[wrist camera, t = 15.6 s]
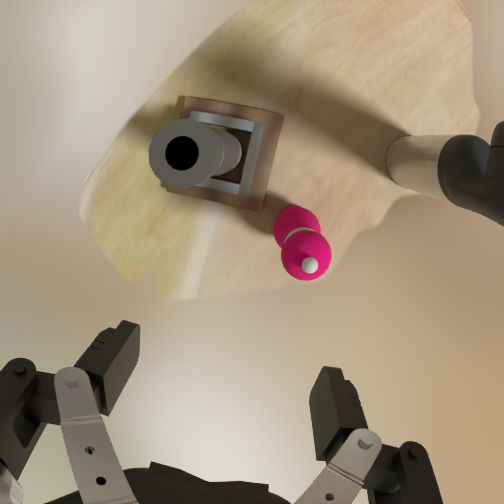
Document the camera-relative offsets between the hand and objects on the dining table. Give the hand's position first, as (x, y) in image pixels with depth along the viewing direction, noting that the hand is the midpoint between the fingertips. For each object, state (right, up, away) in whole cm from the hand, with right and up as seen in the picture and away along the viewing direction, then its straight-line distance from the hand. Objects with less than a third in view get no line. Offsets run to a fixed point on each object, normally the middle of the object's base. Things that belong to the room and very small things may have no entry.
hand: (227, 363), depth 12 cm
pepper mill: (+8, +9, +39) cm, 41 cm away
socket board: (-3, +21, +36) cm, 41 cm away
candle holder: (-3, +20, +34) cm, 40 cm away
